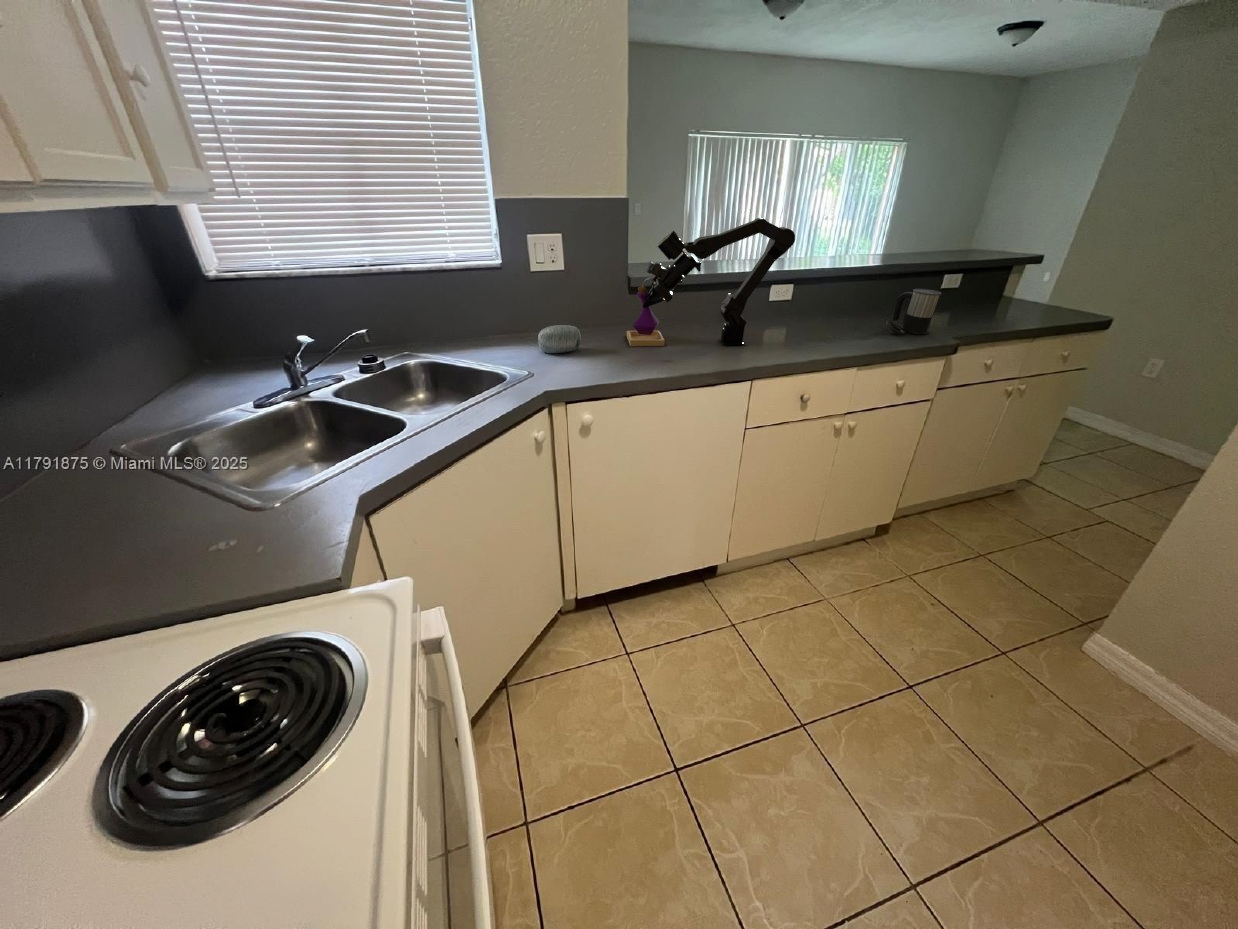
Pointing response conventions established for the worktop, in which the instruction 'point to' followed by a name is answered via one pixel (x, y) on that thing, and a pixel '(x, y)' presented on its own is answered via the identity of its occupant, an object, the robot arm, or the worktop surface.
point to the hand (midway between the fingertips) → (643, 305)
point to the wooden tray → (645, 339)
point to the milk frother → (915, 311)
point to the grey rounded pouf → (559, 339)
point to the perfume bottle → (645, 314)
